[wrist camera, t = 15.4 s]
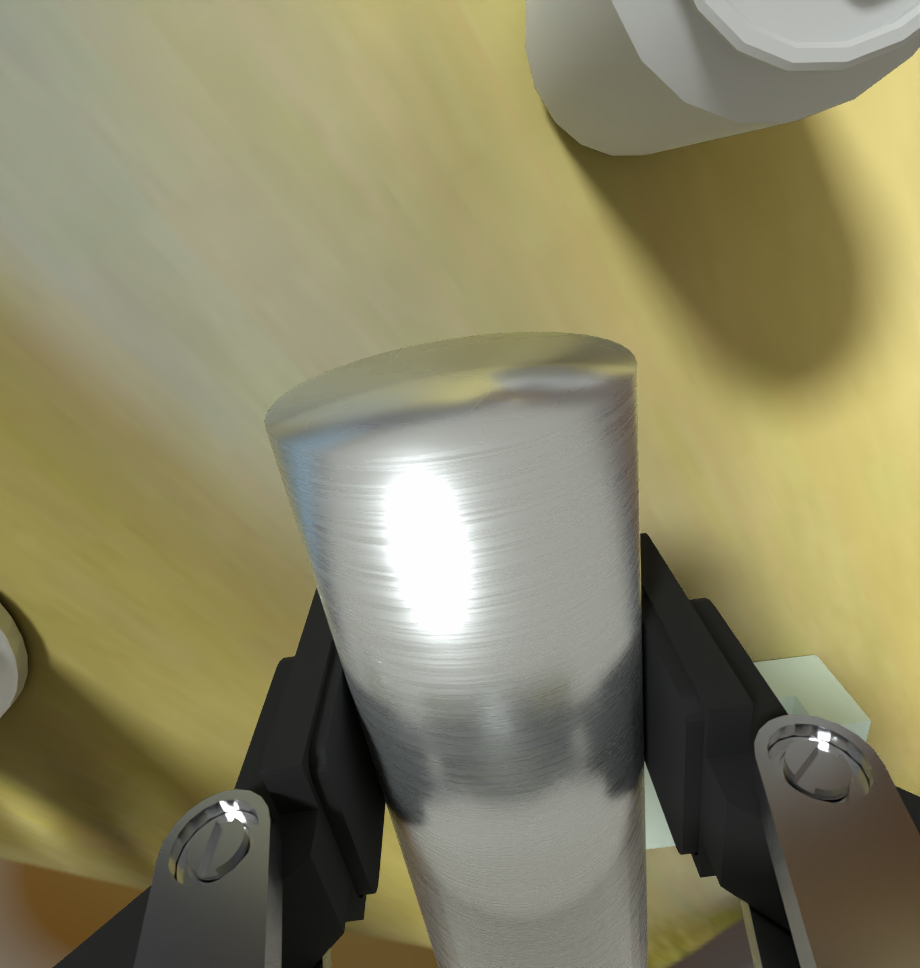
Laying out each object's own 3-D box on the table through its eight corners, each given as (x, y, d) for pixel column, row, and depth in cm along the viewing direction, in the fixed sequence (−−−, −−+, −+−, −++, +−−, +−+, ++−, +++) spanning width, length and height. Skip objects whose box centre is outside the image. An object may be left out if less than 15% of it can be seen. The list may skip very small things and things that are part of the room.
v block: (617, 776, 35) (640, 849, 31) (615, 679, 32) (640, 748, 28) (797, 754, 35) (844, 826, 31) (816, 654, 32) (871, 721, 28)
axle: (599, 804, 14) (689, 1026, 10) (426, 849, 14) (452, 1095, 10) (564, 316, 9) (719, 393, 5) (287, 370, 9) (229, 493, 5)
